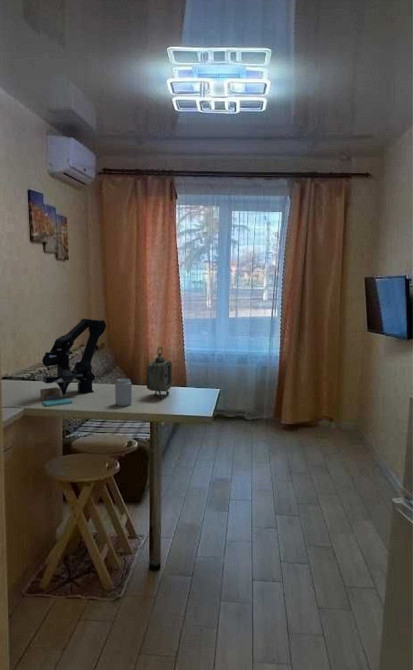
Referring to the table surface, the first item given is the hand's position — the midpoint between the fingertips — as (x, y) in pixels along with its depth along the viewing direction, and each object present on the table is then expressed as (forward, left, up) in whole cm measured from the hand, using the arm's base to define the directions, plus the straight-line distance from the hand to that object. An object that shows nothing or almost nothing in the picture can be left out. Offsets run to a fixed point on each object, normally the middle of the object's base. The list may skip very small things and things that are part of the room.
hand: (63, 395), depth 236 cm
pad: (+7, +10, -1) cm, 12 cm away
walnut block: (+7, 0, -1) cm, 7 cm away
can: (-18, +29, -1) cm, 35 cm away
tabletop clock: (-40, +24, -1) cm, 47 cm away
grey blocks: (+7, 0, -1) cm, 7 cm away
